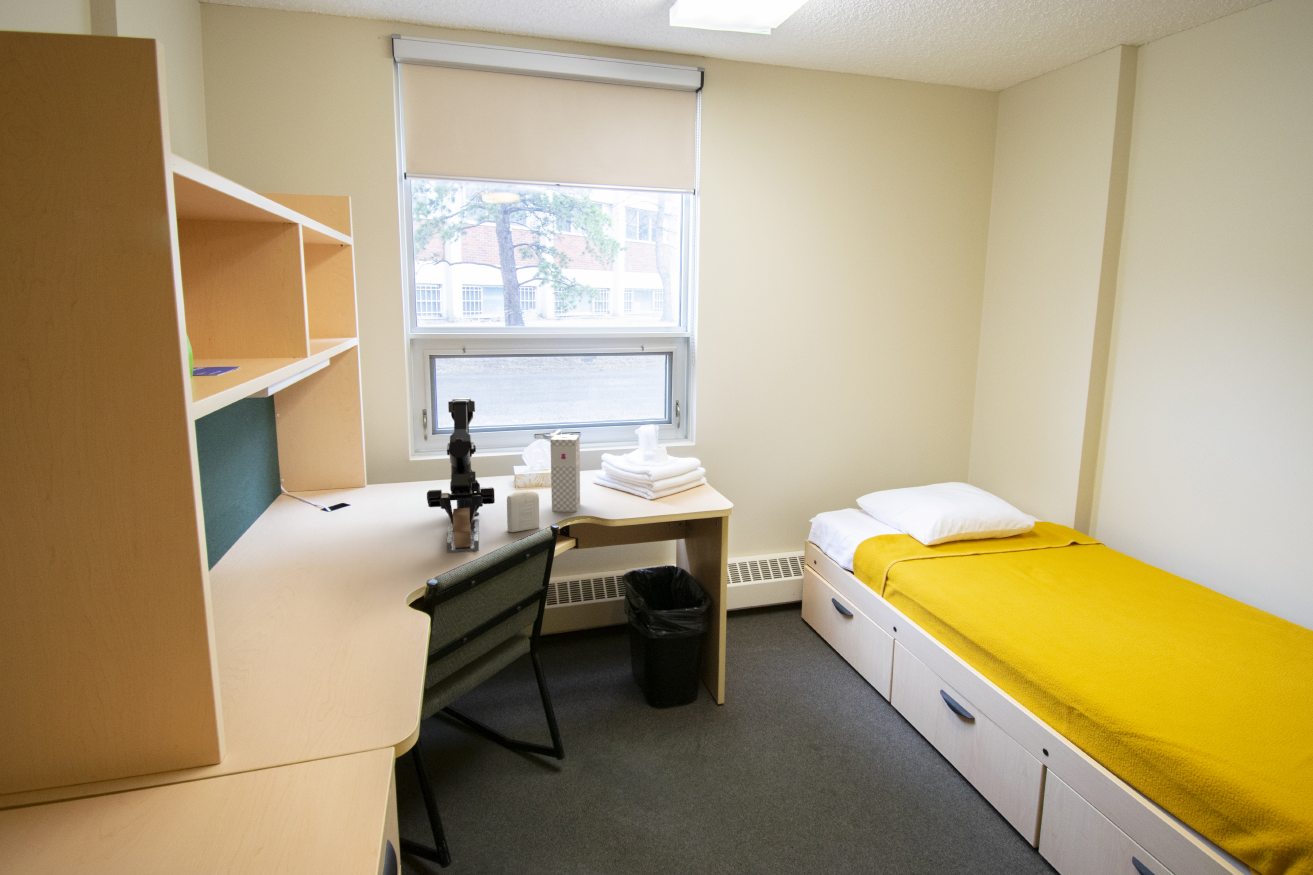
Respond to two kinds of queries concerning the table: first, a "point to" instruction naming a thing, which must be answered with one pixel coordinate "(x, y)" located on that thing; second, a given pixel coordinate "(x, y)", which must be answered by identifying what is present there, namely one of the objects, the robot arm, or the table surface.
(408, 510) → the table surface
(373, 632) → the table surface
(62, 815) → the table surface
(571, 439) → the box
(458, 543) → the wooden tall block
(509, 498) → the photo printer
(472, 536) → the gray rectangular tray
